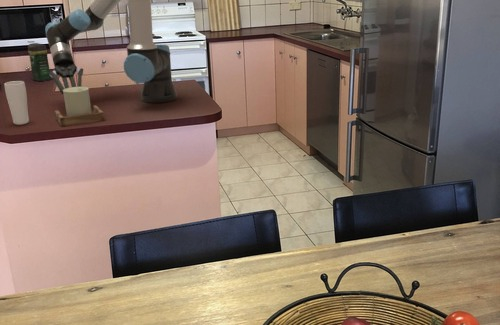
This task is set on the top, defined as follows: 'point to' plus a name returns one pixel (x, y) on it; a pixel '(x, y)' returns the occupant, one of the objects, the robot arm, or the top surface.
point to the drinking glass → (17, 101)
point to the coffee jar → (39, 62)
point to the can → (77, 101)
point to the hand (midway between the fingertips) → (76, 107)
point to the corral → (80, 117)
